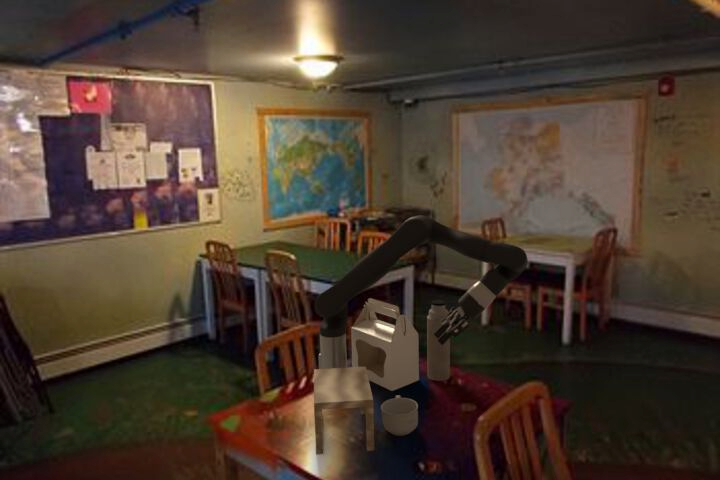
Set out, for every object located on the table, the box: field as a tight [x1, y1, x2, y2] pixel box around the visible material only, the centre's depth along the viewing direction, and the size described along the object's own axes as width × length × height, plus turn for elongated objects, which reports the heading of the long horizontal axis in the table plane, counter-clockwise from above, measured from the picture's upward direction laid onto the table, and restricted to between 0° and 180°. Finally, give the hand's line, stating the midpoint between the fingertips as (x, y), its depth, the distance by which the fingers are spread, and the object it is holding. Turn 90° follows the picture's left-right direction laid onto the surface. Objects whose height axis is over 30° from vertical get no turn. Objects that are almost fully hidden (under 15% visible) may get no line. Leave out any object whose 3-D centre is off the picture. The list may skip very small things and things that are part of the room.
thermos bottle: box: [426, 299, 451, 382], centre depth 198 cm, size 8×8×28 cm
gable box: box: [350, 297, 420, 392], centre depth 200 cm, size 22×13×28 cm, turn 40°
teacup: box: [380, 394, 419, 437], centre depth 165 cm, size 14×11×8 cm
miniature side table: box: [313, 366, 375, 455], centre depth 163 cm, size 16×23×15 cm
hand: (437, 339), depth 169 cm, fingers open, 5 cm apart
